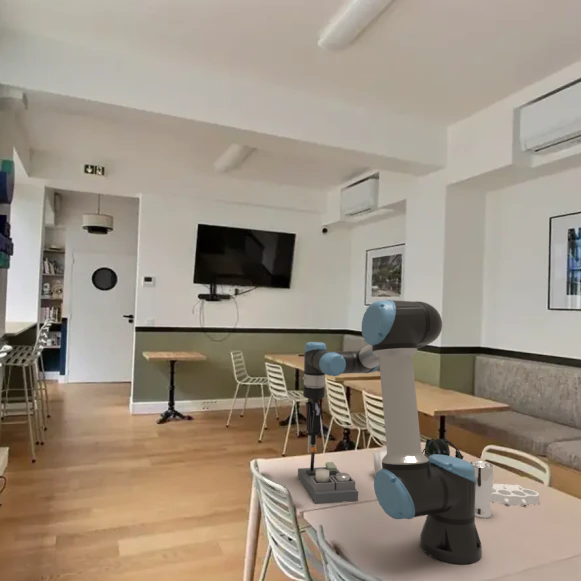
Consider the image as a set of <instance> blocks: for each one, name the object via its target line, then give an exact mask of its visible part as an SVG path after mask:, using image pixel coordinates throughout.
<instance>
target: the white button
mask: <svg viewBox="0 0 581 581" xmlns="http://www.w3.org/2000/svg"><path fill="white" fill-rule="evenodd" d="M316 481H317V482H319V483H327V482H329V470H327V469H317V470H316Z"/></svg>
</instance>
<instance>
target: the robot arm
mask: <svg viewBox="0 0 581 581" xmlns="http://www.w3.org/2000/svg"><path fill="white" fill-rule="evenodd" d="M442 320H443V319H442V316H441V314H440V313H439V311H438V310H437V309H436V307H434V306H433V305H432V304H429V303H428V302H423V301H409V300H407V301H406V300H391V299H386V300H376V301H374V302H372V303H371V304H369V305H368V307H367V308H366V310H365V312H364V314H363V317H362V320H361V335H362V338H363V339H364V342H365V343H366V344H367V345H365V346H364V347H362V348H361V349H359V350H348V351H347V350H345V351H342V350H341V351H339V350H338V351H330V350H327V345H326V343H325V342H320V341H310V342H309V341H307V342H306V343H305V345H304V352H303V354H304V359H303V360H304V361H303V362H304V363H303V364H304V366H303V376H302V380H303V385H304V386H303V389H302V390H303V391H302V394H303V395H302V396H303V397H304V398H305V399H307V401H306V402H305V410H306V412H305V413H306V414H305V415H306V417H305V418H306V420H305V421H306V430H307V436H308V437H307V453H308V454H309V455H311V452H310V447H311V446H315V447H316V448H317V436H319V435H320V433H319V432H320V426H321V417H322V413H323V410H322V409H321V403H320V400H321V399H324V398H325V392H326V391H325V387H324V386H325V385H326V375H327V376H329V377H330V376H331V377H338V376H340V375H342V374H343V375H346V374H370V373H375V372H377V371H378V368H379V374H380V376H379V377H380V384H381V385H380V387H381V396H382V397H381V398H382V409H383V411H382V412H383V420H384V421H383V422H384V431H385V434H384V435H385V444H386V449H387V454H386V455H385V457H384V458H383V459H382V469H381V470H380V471H378V472H377V473H376V475H375V474H374V479H373V487H374V492H375V497H376V499H377V503H378V504H379V506H380V508H382V510H383V511H384V513H385V514H386V515H387V516H389V518H392V519H395V520H411V519H414V518H417V517H424V516H426V519H425V521H424V522H423V523H424V524H423V526H422V529H421V533H420V535H419V536H420V537H419V545H420V548H421V549H422V551H423V552H424V553H425V554H427V555H428V556H430V557H432V558H434V559H437V560H439V561H443V562H446V563H450V564H456V565H458V564H459V565H463V564H465V565H466V564H472V563H475V562H477V561H479V560H480V559H481V558H482V554H483V553H482V548H483V547H482V541H481V538H480V535H479V532H478V529H477V526H476V522H475V521H476V519H475V518H476V516H475V485H476V480H475V469H474V467H473V465H472V464H470V462H469V461H467V460H466V459H465V460H464V459H463V460H462V459H459V458H456V457H455V456H451V455H450V456H447V455H439V454H433V455H430V456H429V459H428V458H427V457H426V456H425V455H424V454H425V453H424V452H423V450H422V442H421V441H422V440H421V432H420V422H419V421H420V420H419V412H418V403H417V393H416V383H415V372H414V363H413V362H414V361H413V357H414V355H415V354H416V352H417V351H418V349H420V348H421V349H422V348H423V347H426V346H428V345H429V344H431V343H433V342H435V341H436V340H437V339H438V338H439V336H440V334H441V332H442V329H443V321H442ZM422 452H423V453H422ZM375 476H376V477H375Z"/></svg>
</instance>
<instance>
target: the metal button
mask: <svg viewBox="0 0 581 581" xmlns="http://www.w3.org/2000/svg"><path fill="white" fill-rule="evenodd" d="M350 477H351V475H350V474H349V473H347V472H340V473H337V474H336V481H337V482H348V481H349V479H350Z"/></svg>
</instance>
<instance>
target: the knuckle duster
mask: <svg viewBox="0 0 581 581" xmlns="http://www.w3.org/2000/svg"><path fill="white" fill-rule="evenodd" d="M490 502H499V503H498V504H500V503H502V504H501V505H503V504H508V505H507V506H517V505H520V506H519V507H525V506H524V505H526V506H528V505H527V504H538V505H539V504H540V493H539V492H538V491H536V490H533V489H529V488H524V487H522V486H521V485H519V484H506V483H505V484H503V483H493V489H492V494H491V500H490Z"/></svg>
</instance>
